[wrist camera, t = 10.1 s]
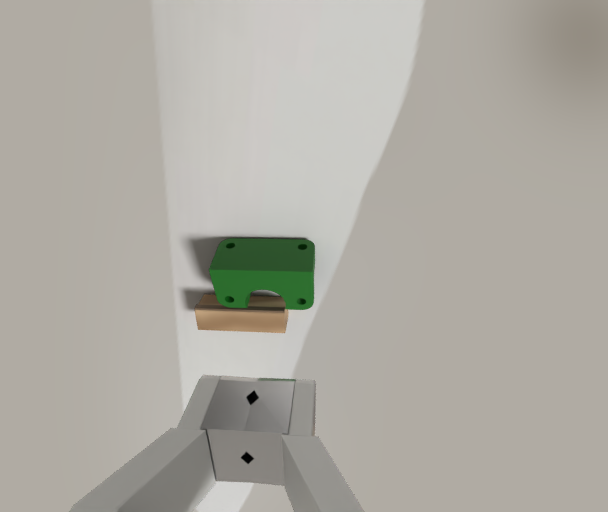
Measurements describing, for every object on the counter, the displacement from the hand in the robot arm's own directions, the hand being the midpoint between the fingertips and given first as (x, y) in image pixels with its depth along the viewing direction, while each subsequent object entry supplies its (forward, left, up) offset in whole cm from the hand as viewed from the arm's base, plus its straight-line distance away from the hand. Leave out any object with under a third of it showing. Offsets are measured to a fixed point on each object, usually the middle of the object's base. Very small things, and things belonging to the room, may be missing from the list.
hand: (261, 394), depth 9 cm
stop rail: (+18, -9, -31) cm, 37 cm away
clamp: (+12, -5, -32) cm, 34 cm away
